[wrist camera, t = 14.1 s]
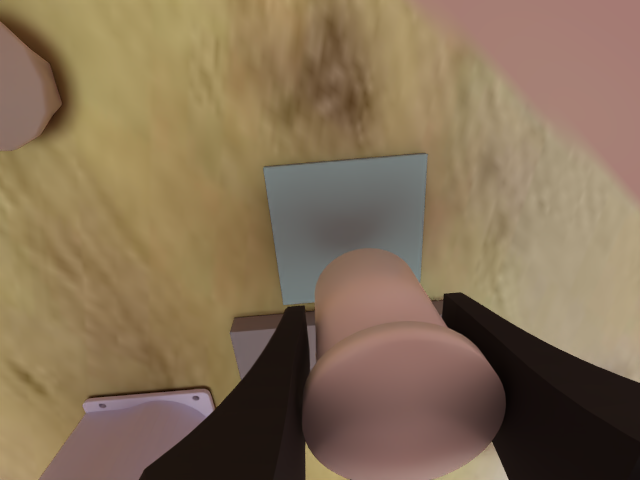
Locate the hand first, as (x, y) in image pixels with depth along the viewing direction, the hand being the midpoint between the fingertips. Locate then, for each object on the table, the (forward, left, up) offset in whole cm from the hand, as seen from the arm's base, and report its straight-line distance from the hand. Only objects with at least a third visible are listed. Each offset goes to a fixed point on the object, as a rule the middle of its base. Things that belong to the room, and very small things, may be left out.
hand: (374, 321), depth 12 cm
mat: (0, 0, -8) cm, 8 cm away
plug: (0, 0, -2) cm, 2 cm away
